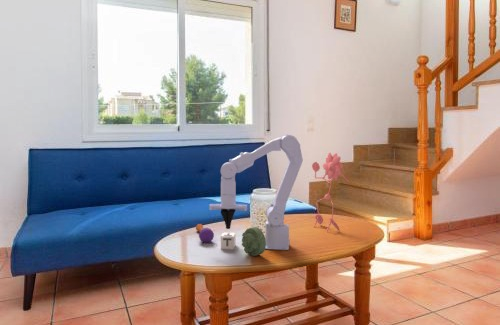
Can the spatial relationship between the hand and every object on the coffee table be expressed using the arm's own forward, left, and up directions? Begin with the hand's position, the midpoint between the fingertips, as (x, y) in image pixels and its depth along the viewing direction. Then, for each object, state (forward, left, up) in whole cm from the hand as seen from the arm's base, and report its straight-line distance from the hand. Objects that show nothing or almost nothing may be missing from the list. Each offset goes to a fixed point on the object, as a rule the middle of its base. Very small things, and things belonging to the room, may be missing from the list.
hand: (228, 228), depth 146 cm
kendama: (+12, -12, -8) cm, 19 cm away
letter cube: (0, 0, -8) cm, 8 cm away
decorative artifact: (-9, +9, -8) cm, 15 cm away
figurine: (-44, -32, -8) cm, 55 cm away
